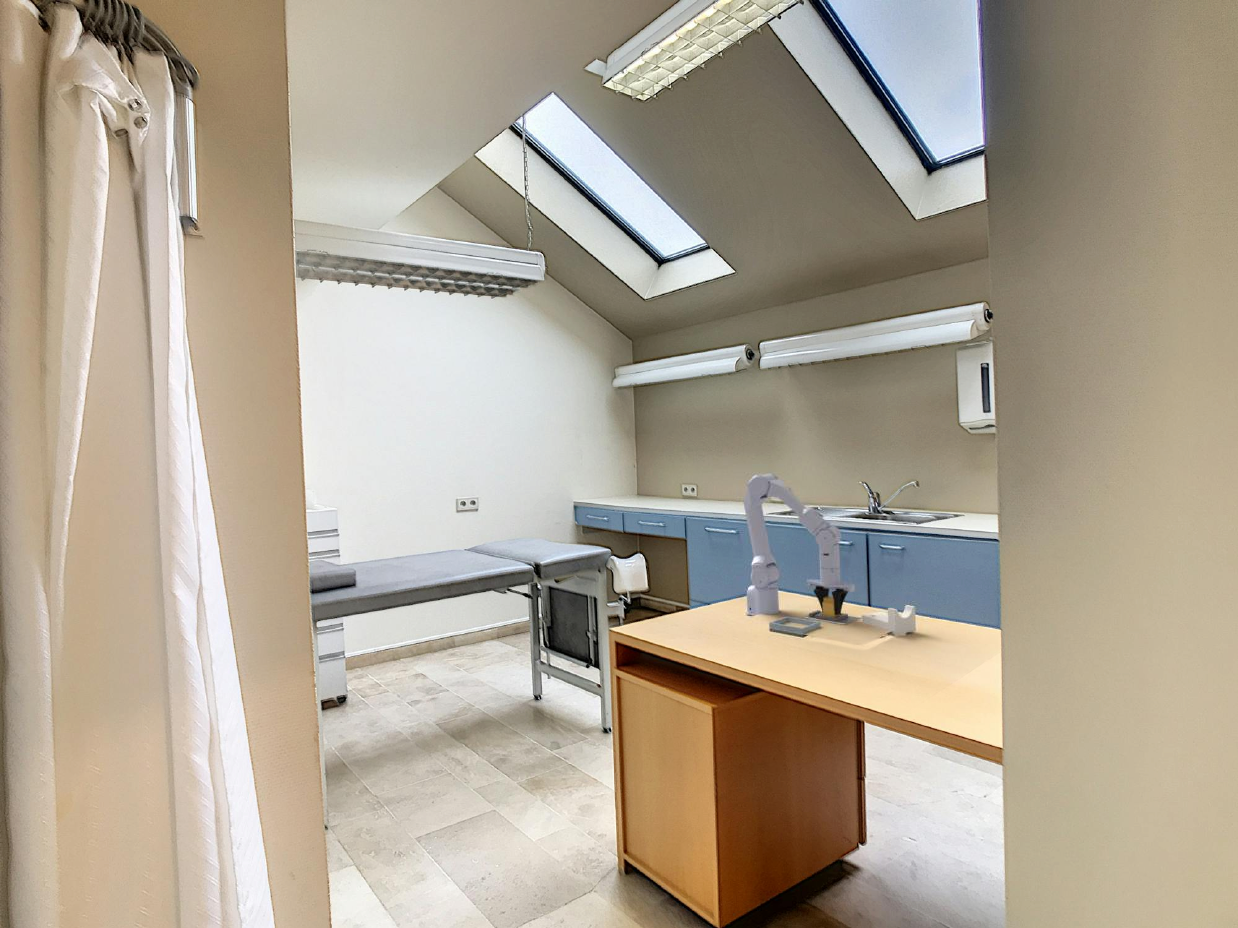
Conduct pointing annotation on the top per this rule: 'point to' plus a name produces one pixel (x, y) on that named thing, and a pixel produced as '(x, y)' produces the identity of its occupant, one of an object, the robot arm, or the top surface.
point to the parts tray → (779, 625)
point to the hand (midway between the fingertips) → (831, 613)
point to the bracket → (893, 620)
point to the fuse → (829, 607)
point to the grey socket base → (832, 618)
